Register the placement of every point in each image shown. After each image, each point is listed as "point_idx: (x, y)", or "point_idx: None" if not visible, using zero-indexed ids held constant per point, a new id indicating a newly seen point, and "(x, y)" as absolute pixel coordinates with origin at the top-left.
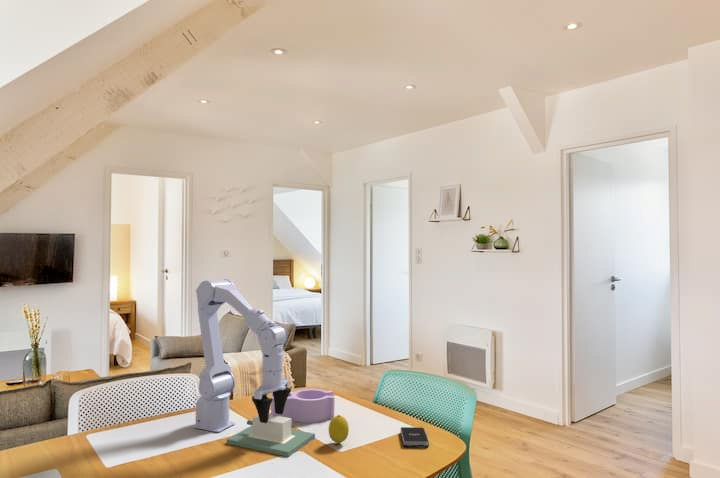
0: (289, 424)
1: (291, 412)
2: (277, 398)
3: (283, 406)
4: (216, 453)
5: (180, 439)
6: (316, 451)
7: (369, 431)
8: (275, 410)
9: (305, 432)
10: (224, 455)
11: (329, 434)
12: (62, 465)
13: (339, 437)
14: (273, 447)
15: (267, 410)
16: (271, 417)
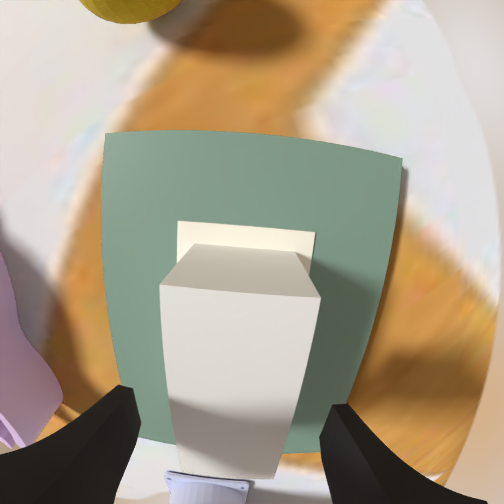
0: (204, 271)
1: (8, 350)
2: (99, 501)
3: (99, 422)
4: (397, 417)
5: (316, 499)
6: (280, 51)
7: (30, 12)
8: (135, 438)
9: (108, 193)
10: (411, 393)
11: (169, 2)
12: None
13: None
14: (374, 263)
15: (403, 468)
16: (220, 423)
